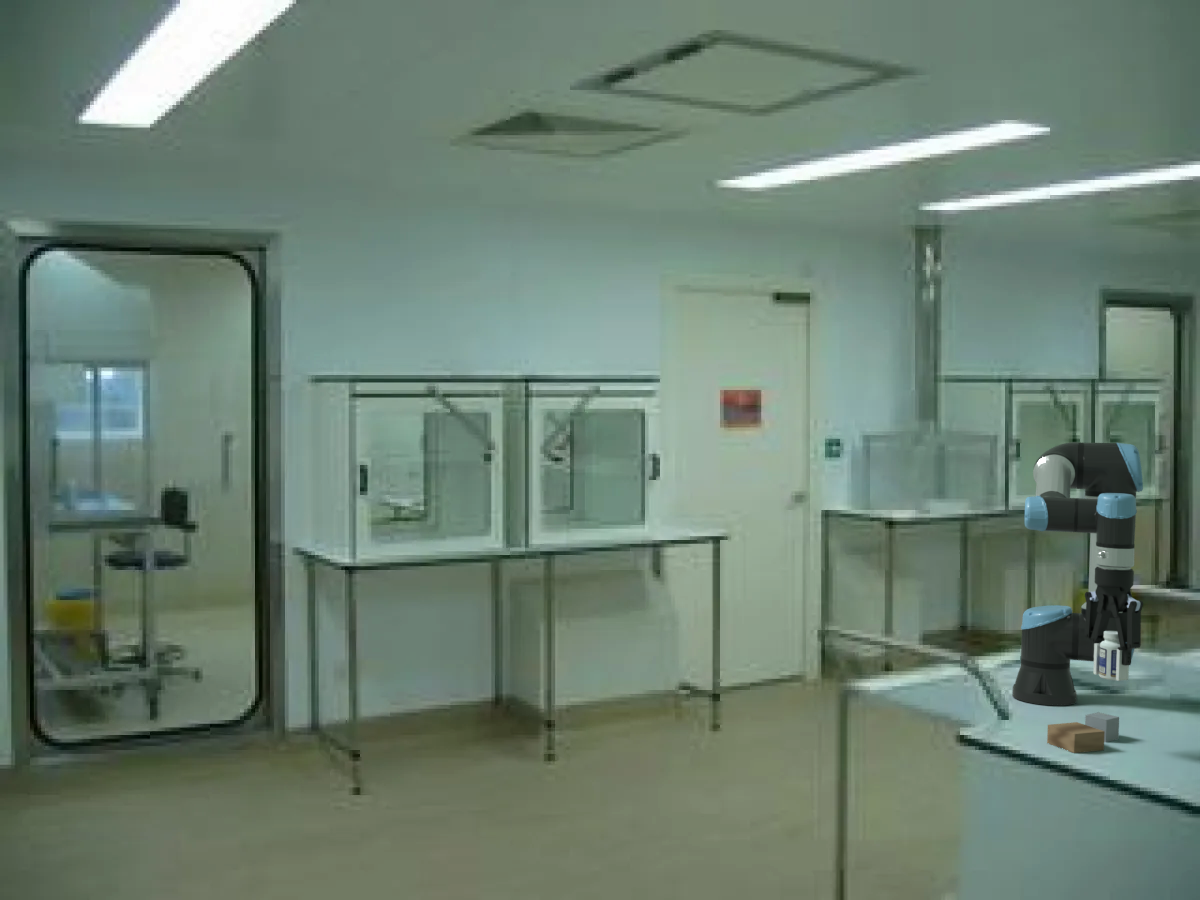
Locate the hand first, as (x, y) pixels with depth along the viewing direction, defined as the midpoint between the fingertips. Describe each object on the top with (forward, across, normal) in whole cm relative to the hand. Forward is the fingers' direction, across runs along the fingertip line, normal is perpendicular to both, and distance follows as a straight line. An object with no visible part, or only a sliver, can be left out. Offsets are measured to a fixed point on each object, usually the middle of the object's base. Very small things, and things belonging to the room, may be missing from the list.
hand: (1110, 676), depth 253 cm
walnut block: (+16, -6, -4) cm, 17 cm away
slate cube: (+16, -9, +8) cm, 20 cm away
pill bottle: (+1, 0, 0) cm, 1 cm away
